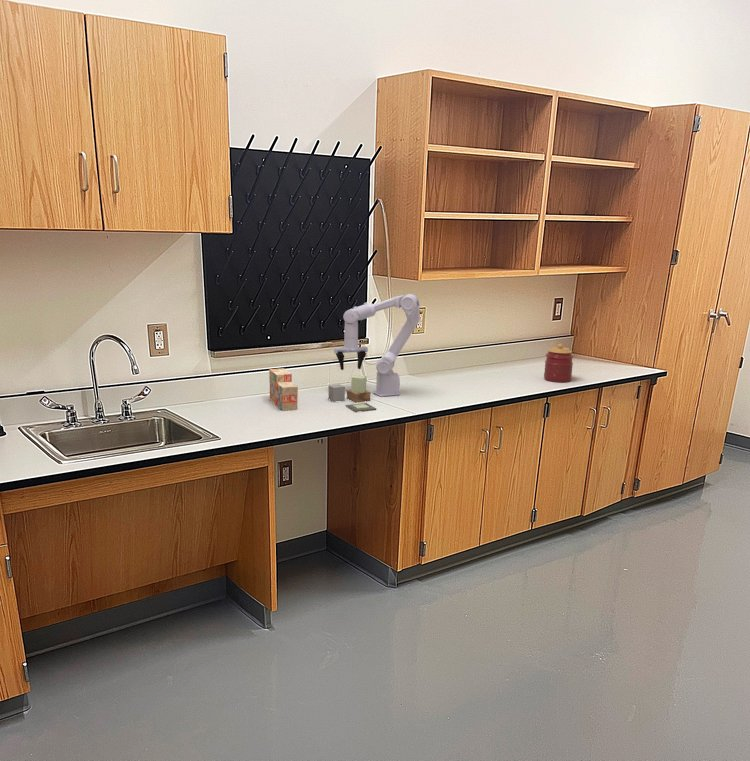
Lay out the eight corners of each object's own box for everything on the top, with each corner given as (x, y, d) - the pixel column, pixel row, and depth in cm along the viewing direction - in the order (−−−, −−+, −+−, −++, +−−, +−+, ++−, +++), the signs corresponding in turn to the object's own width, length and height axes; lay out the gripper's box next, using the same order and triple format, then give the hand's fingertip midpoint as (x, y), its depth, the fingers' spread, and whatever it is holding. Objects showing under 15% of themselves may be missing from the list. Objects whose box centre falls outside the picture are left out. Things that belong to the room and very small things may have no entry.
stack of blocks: (297, 409, 261) (297, 378, 258) (282, 411, 258) (281, 379, 256) (284, 396, 280) (284, 367, 277) (269, 397, 278) (269, 368, 275)
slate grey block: (339, 398, 280) (339, 384, 278) (344, 401, 275) (344, 386, 274) (328, 399, 277) (328, 385, 276) (333, 402, 273) (333, 387, 272)
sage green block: (354, 389, 280) (354, 375, 278) (366, 390, 279) (366, 376, 277) (351, 392, 275) (351, 377, 274) (363, 393, 274) (363, 378, 273)
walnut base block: (361, 397, 282) (361, 388, 281) (370, 401, 277) (370, 392, 276) (346, 399, 279) (347, 390, 278) (355, 403, 273) (355, 393, 272)
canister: (559, 376, 333) (562, 340, 329) (577, 381, 322) (580, 345, 318) (537, 377, 328) (540, 341, 324) (555, 383, 316) (558, 346, 312)
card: (366, 404, 271) (366, 402, 270) (376, 409, 263) (376, 407, 263) (345, 406, 267) (345, 404, 267) (355, 412, 259) (355, 409, 259)
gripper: (337, 339, 280) (336, 371, 283) (370, 338, 284) (369, 370, 287) (332, 336, 286) (332, 368, 289) (365, 335, 291) (364, 366, 294)
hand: (350, 369), depth 289 cm, fingers open, 7 cm apart
